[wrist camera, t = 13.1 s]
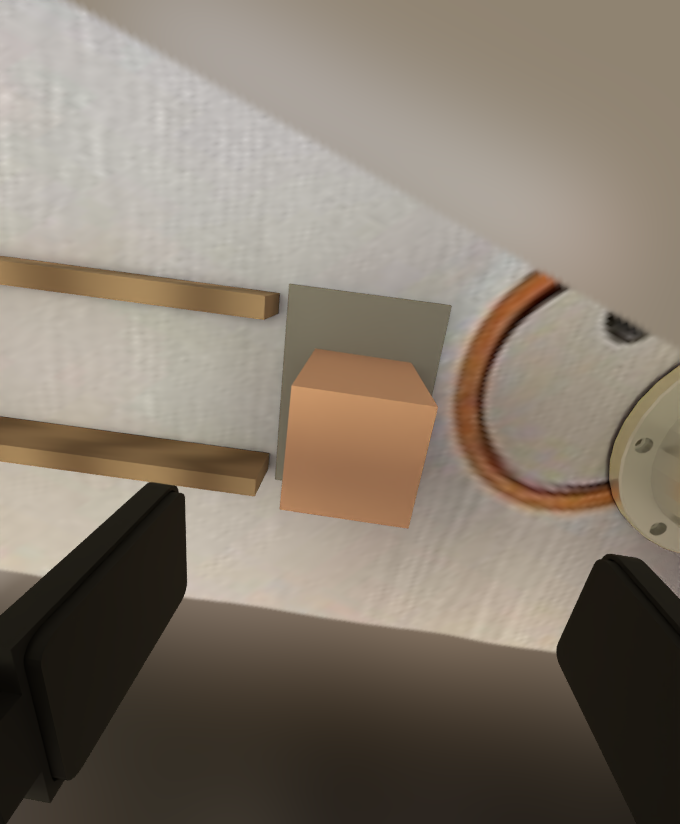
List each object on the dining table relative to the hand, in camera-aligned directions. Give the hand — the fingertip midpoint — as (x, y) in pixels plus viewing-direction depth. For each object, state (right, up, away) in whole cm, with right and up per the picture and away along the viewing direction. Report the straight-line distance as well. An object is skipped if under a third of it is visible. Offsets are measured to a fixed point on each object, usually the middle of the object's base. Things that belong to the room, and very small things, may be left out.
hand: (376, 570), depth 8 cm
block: (0, +4, +11) cm, 12 cm away
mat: (0, +4, +12) cm, 12 cm away
